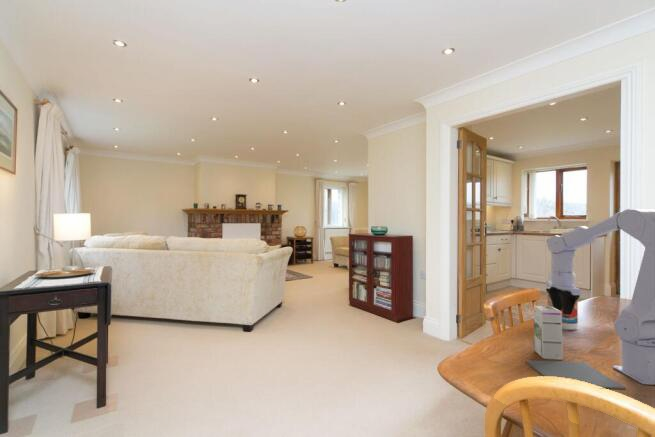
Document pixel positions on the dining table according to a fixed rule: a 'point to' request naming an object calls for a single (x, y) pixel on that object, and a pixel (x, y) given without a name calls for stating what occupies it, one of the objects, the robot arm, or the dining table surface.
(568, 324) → the fruit juice
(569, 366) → the slate mat
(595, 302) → the dining table surface
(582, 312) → the dining table surface
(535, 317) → the syrup box
